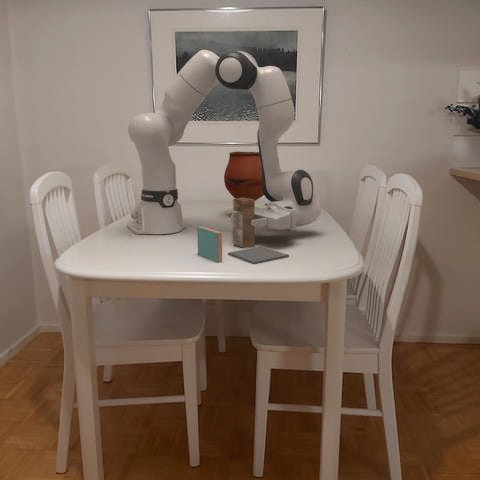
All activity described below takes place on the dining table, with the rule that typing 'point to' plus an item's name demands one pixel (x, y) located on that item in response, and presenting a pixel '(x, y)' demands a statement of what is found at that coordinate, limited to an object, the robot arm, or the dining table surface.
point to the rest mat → (258, 255)
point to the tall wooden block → (243, 222)
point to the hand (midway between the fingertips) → (241, 220)
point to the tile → (209, 243)
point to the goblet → (244, 175)
